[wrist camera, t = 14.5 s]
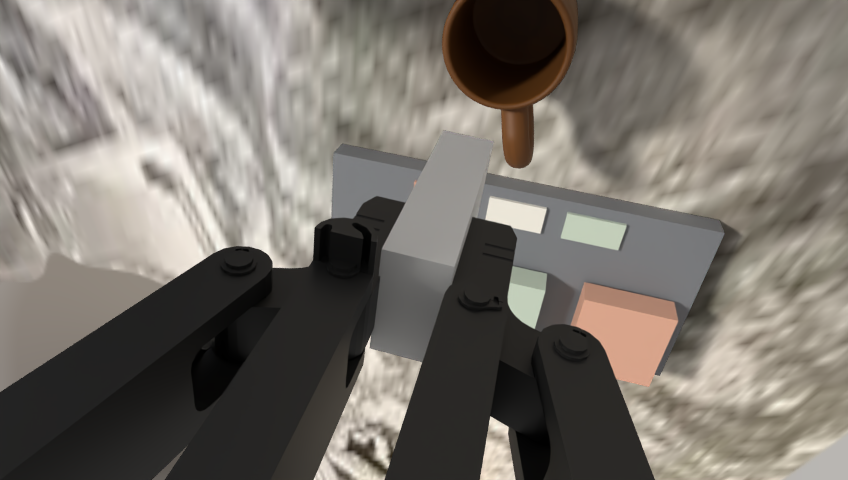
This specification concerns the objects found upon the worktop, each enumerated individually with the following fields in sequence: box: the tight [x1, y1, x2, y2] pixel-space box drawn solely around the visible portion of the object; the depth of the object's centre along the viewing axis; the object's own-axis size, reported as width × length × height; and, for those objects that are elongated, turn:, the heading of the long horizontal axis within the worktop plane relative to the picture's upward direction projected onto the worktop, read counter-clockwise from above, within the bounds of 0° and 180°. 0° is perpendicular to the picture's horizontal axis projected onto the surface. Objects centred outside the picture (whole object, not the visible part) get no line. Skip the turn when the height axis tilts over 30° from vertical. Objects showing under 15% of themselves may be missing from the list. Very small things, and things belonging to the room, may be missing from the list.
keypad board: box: [331, 144, 725, 376], centre depth 50 cm, size 30×14×2 cm, turn 83°
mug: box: [442, 0, 578, 168], centre depth 38 cm, size 12×8×9 cm, turn 9°
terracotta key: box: [571, 282, 678, 387], centre depth 48 cm, size 7×7×2 cm
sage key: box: [508, 266, 547, 329], centre depth 49 cm, size 7×7×2 cm
